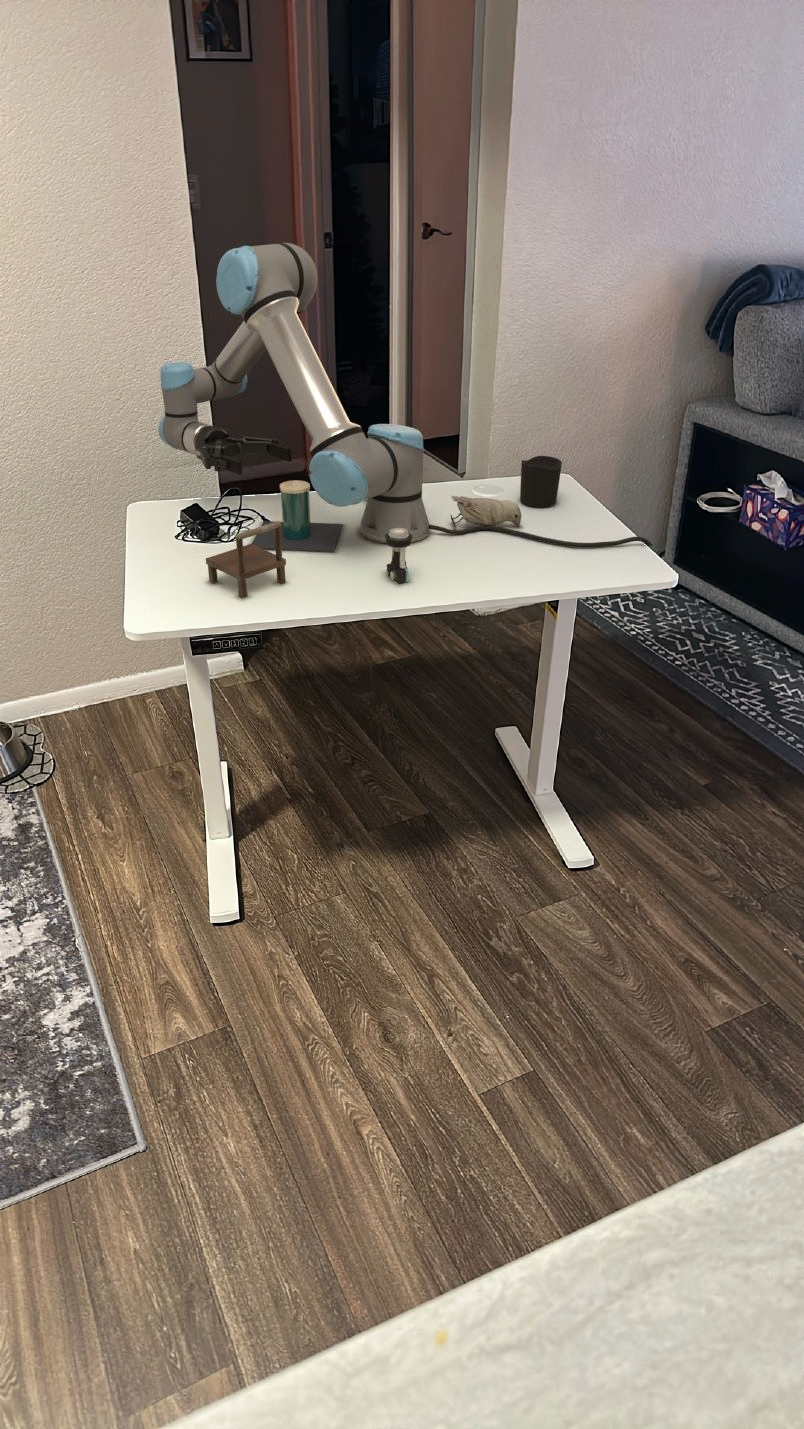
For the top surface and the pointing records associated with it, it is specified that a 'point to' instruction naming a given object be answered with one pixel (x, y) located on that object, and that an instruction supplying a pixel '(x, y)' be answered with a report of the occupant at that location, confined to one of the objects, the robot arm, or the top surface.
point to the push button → (398, 553)
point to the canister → (295, 509)
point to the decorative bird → (487, 511)
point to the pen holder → (540, 481)
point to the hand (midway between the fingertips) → (265, 461)
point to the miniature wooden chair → (249, 559)
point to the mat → (319, 541)
